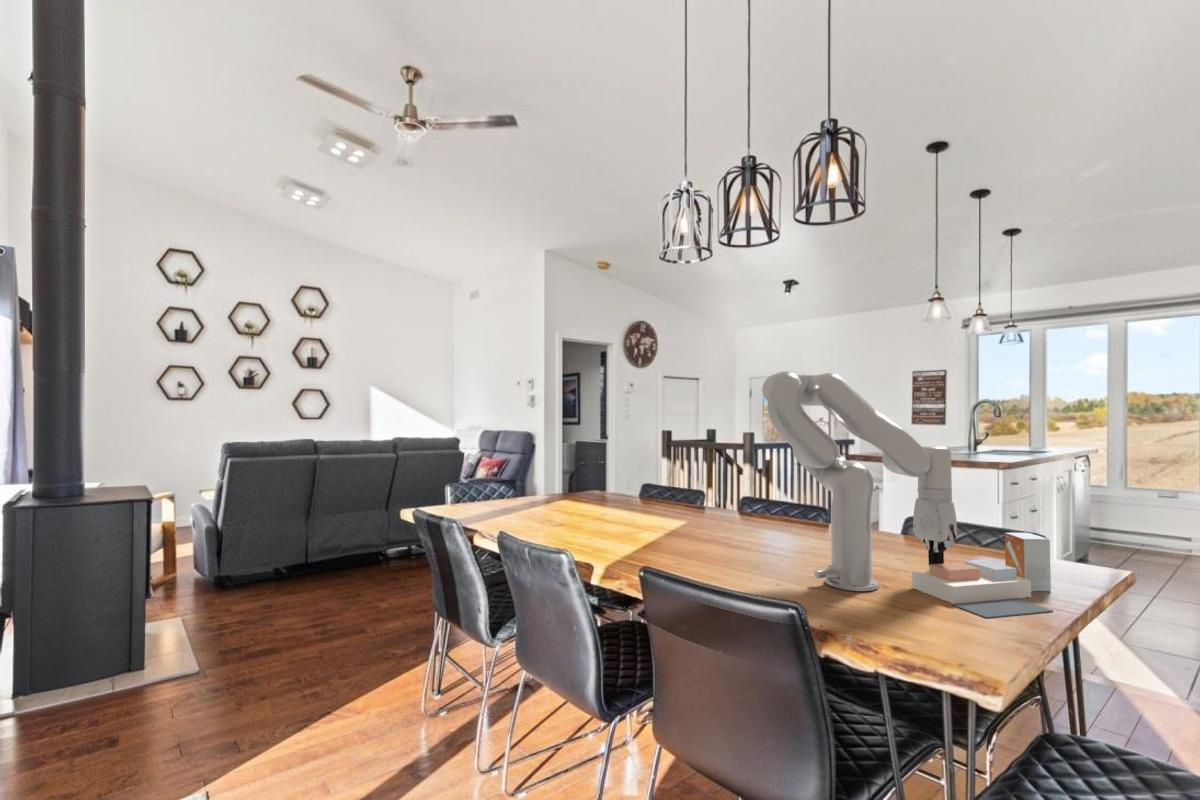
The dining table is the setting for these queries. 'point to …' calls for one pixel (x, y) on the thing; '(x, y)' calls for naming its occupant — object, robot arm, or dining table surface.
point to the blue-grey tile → (993, 569)
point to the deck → (971, 588)
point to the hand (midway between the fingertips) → (936, 566)
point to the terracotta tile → (954, 571)
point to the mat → (1002, 608)
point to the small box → (1029, 558)
